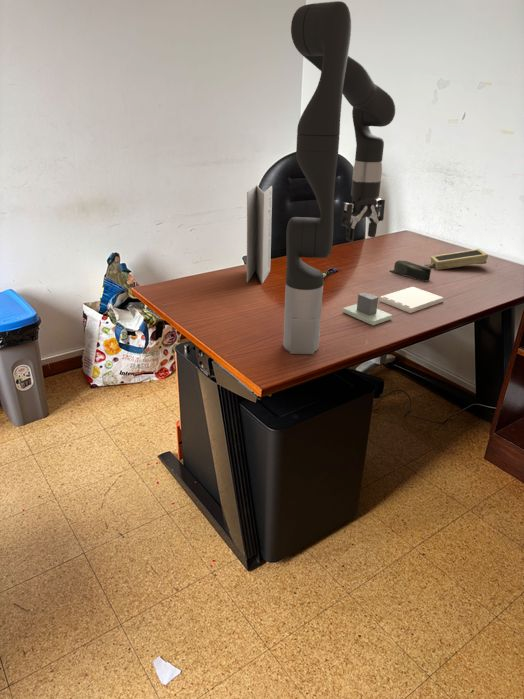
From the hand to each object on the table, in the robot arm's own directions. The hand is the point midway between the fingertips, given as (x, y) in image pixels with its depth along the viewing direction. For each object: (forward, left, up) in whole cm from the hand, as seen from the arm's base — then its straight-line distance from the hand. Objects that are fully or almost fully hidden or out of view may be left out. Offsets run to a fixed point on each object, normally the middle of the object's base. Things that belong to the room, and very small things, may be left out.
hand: (360, 238), depth 147 cm
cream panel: (+10, -20, -22) cm, 32 cm away
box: (+47, -44, -23) cm, 69 cm away
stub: (-2, -4, -22) cm, 23 cm away
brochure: (+32, +29, -23) cm, 48 cm away
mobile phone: (+36, -25, -23) cm, 49 cm away
